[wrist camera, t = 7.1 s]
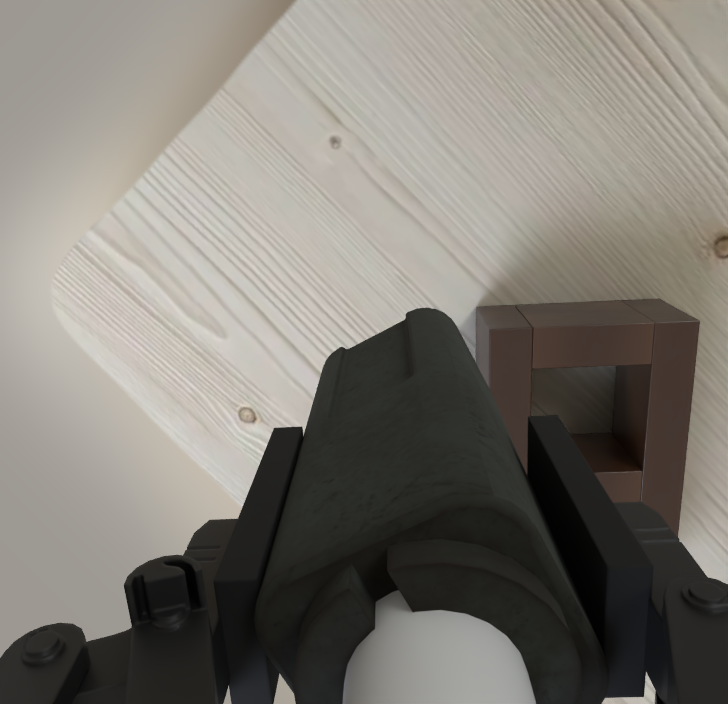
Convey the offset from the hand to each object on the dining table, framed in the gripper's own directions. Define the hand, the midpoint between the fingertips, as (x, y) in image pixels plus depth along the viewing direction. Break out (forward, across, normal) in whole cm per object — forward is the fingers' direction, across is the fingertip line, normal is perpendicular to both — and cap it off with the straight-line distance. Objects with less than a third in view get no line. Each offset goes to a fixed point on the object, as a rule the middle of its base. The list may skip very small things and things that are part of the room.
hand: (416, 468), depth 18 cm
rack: (+21, +9, -10) cm, 25 cm away
